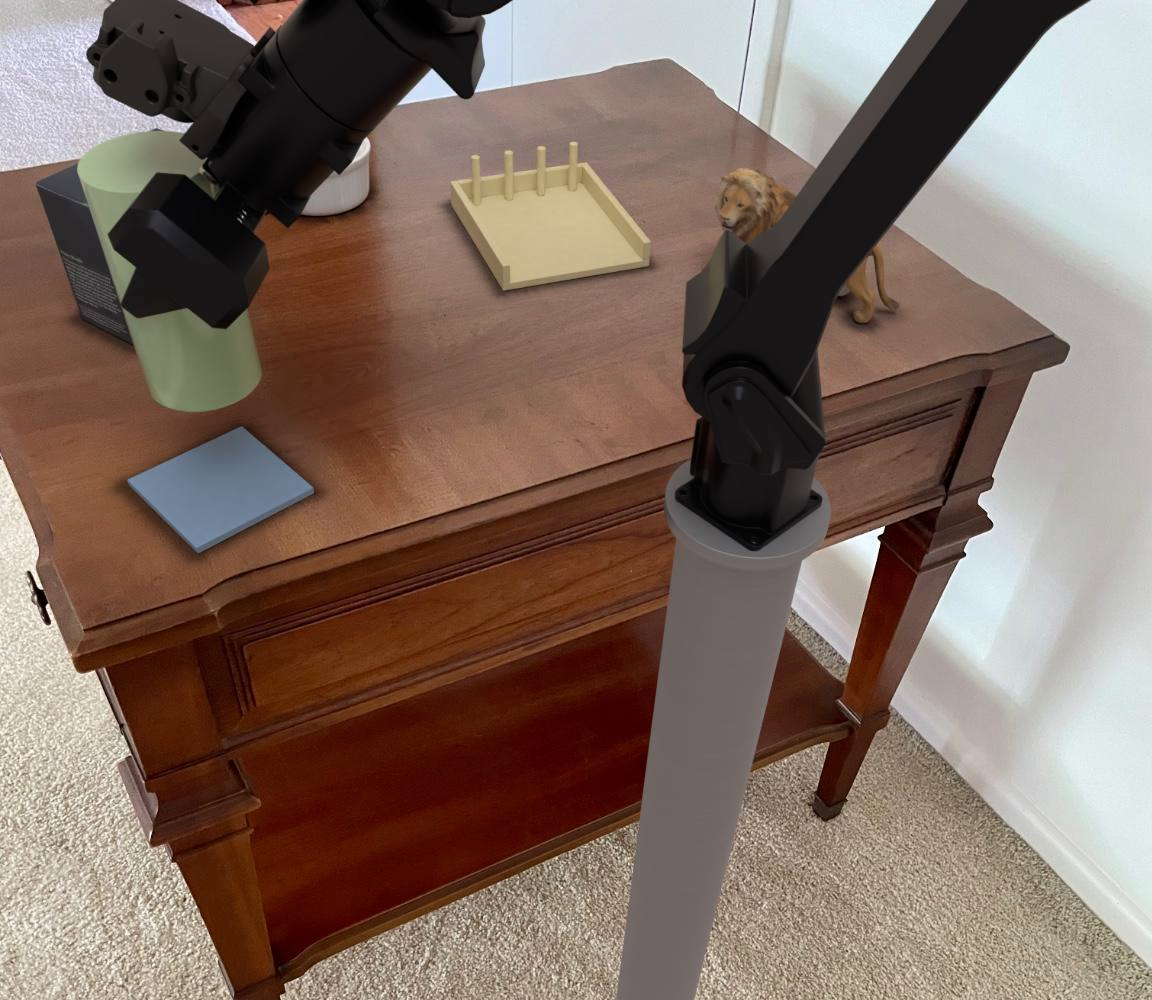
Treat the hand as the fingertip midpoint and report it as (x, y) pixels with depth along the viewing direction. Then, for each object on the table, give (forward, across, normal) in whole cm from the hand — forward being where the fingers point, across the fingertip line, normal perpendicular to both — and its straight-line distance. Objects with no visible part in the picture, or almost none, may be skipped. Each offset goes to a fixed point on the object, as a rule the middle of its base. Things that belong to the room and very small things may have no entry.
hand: (153, 276), depth 60 cm
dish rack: (-3, -32, +22) cm, 39 cm away
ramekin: (+11, -36, +8) cm, 38 cm away
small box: (+16, -18, +3) cm, 24 cm away
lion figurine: (-16, -26, +36) cm, 47 cm away
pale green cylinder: (+4, 0, +6) cm, 7 cm away
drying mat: (+8, +2, +11) cm, 14 cm away
